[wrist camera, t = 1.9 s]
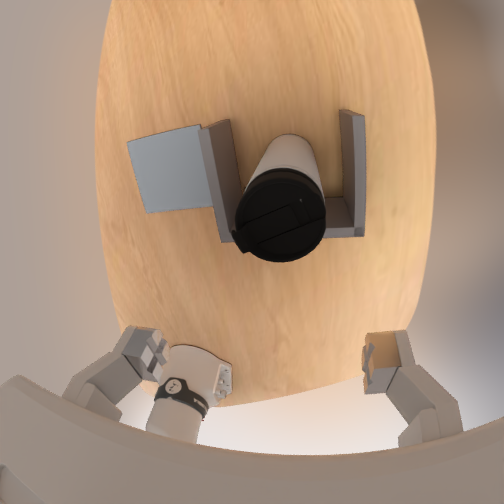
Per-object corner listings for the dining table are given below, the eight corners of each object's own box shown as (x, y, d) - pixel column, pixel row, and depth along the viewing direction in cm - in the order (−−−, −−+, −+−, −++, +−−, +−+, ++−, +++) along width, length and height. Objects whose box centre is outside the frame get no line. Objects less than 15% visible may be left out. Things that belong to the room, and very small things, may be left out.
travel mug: (255, 146, 34) (211, 207, 18) (301, 126, 32) (305, 165, 15) (276, 186, 37) (255, 279, 20) (321, 168, 34) (342, 250, 18)
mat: (216, 204, 40) (216, 205, 39) (147, 212, 42) (146, 213, 42) (200, 124, 33) (199, 124, 33) (128, 141, 36) (126, 142, 35)
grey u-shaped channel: (351, 204, 36) (364, 236, 29) (236, 210, 40) (221, 242, 32) (348, 109, 29) (364, 115, 22) (220, 120, 33) (197, 130, 25)
